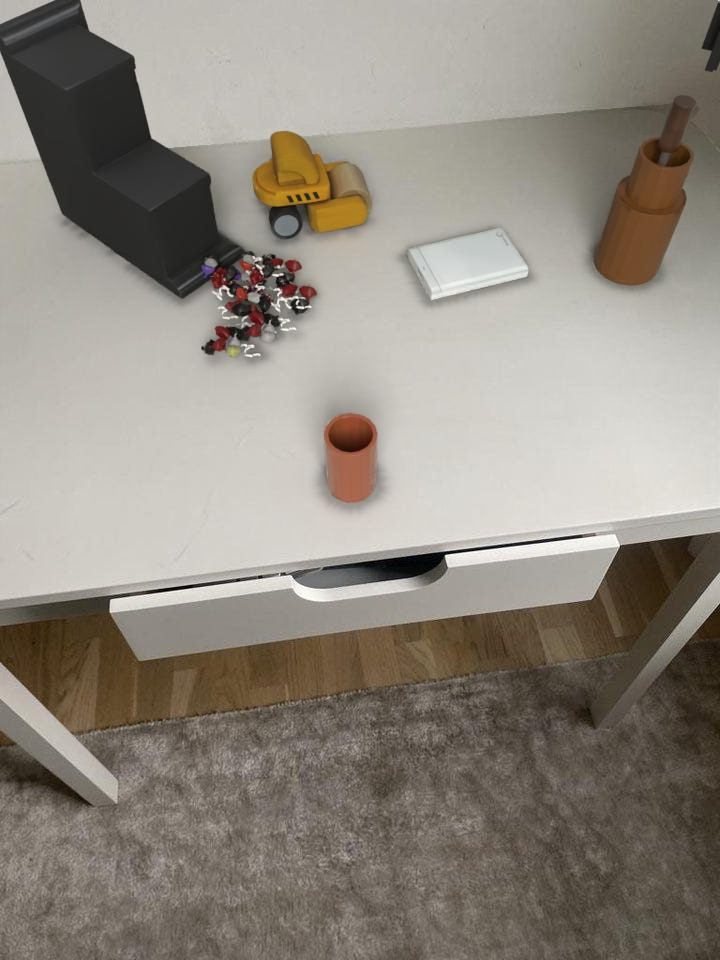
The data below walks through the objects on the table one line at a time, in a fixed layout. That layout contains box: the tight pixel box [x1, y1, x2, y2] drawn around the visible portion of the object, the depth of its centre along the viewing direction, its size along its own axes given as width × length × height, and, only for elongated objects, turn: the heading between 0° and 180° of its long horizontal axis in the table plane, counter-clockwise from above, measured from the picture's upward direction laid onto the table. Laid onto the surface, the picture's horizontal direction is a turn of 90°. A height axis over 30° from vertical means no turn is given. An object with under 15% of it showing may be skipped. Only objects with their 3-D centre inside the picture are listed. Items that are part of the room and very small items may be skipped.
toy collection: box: [200, 250, 318, 358], centre depth 87 cm, size 15×14×5 cm
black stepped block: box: [0, 0, 246, 299], centre depth 86 cm, size 23×11×24 cm, turn 49°
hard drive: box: [406, 227, 530, 301], centre depth 92 cm, size 2×8×12 cm
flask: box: [593, 136, 695, 286], centre depth 87 cm, size 8×8×15 cm
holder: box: [323, 412, 378, 504], centre depth 72 cm, size 5×5×8 cm
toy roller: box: [252, 130, 373, 240], centre depth 94 cm, size 9×14×10 cm, turn 103°
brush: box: [657, 94, 697, 166], centre depth 84 cm, size 3×3×20 cm
